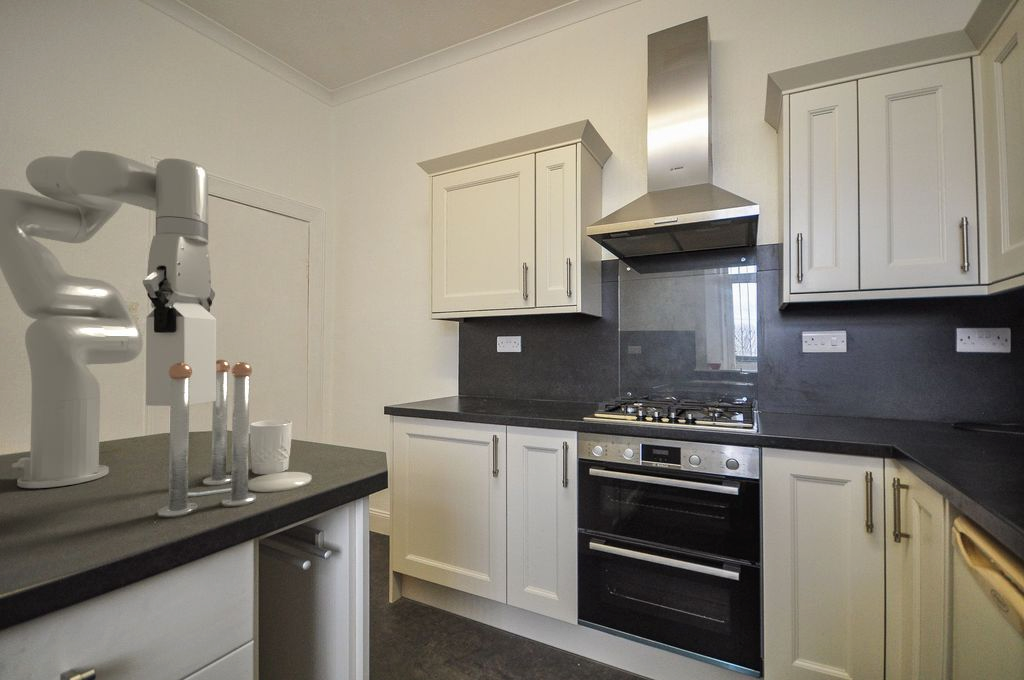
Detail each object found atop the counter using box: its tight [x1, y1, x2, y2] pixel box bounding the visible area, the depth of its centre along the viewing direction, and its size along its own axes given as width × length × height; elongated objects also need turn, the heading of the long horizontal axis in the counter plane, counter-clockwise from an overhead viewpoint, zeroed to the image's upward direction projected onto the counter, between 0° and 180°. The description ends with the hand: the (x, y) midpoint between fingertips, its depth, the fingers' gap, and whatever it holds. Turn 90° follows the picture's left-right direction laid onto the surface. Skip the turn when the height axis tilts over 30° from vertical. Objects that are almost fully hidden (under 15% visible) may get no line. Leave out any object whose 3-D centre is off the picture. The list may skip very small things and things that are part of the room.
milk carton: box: [145, 295, 217, 407], centre depth 80 cm, size 7×7×19 cm
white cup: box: [249, 419, 293, 475], centre depth 96 cm, size 8×8×10 cm
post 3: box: [221, 361, 257, 508], centre depth 77 cm, size 5×5×24 cm
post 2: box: [202, 359, 231, 487], centre depth 88 cm, size 5×5×24 cm
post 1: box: [157, 363, 198, 519], centre depth 72 cm, size 5×5×24 cm
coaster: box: [248, 471, 313, 493], centre depth 87 cm, size 11×11×1 cm
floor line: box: [188, 487, 231, 497], centre depth 81 cm, size 11×2×1 cm, turn 112°
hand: (182, 332), depth 80 cm, fingers closed on milk carton, 7 cm apart
